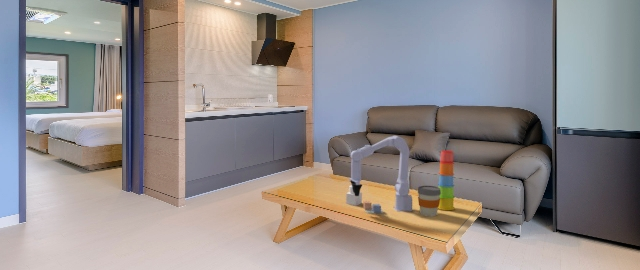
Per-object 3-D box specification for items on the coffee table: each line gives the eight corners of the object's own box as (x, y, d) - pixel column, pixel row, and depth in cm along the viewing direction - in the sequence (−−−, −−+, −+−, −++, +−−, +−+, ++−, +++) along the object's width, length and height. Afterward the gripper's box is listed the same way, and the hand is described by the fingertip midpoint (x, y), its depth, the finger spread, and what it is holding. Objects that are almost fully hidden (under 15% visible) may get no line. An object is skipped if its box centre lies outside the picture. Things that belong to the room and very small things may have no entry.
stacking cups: (433, 207, 220) (434, 151, 216) (443, 204, 226) (444, 149, 222) (448, 212, 211) (450, 153, 208) (458, 208, 218) (460, 151, 214)
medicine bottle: (352, 201, 233) (352, 183, 232) (361, 203, 229) (362, 184, 227) (346, 204, 228) (346, 185, 226) (355, 206, 223) (355, 187, 222)
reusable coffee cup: (413, 211, 213) (413, 186, 212) (432, 209, 216) (433, 184, 215) (424, 218, 201) (424, 191, 199) (444, 216, 204) (445, 190, 202)
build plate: (379, 208, 219) (379, 207, 219) (384, 213, 209) (384, 212, 209) (363, 208, 219) (363, 207, 218) (367, 213, 209) (367, 213, 209)
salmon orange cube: (369, 207, 219) (370, 201, 219) (371, 209, 215) (371, 202, 215) (363, 207, 219) (363, 201, 219) (364, 209, 215) (364, 203, 215)
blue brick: (379, 210, 213) (379, 203, 213) (380, 212, 209) (380, 206, 209) (372, 210, 213) (372, 204, 212) (374, 213, 209) (374, 206, 208)
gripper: (347, 168, 219) (347, 191, 220) (350, 174, 204) (350, 197, 206) (359, 168, 219) (359, 190, 221) (363, 173, 205) (363, 197, 206)
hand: (355, 194), depth 213 cm, fingers open, 7 cm apart
